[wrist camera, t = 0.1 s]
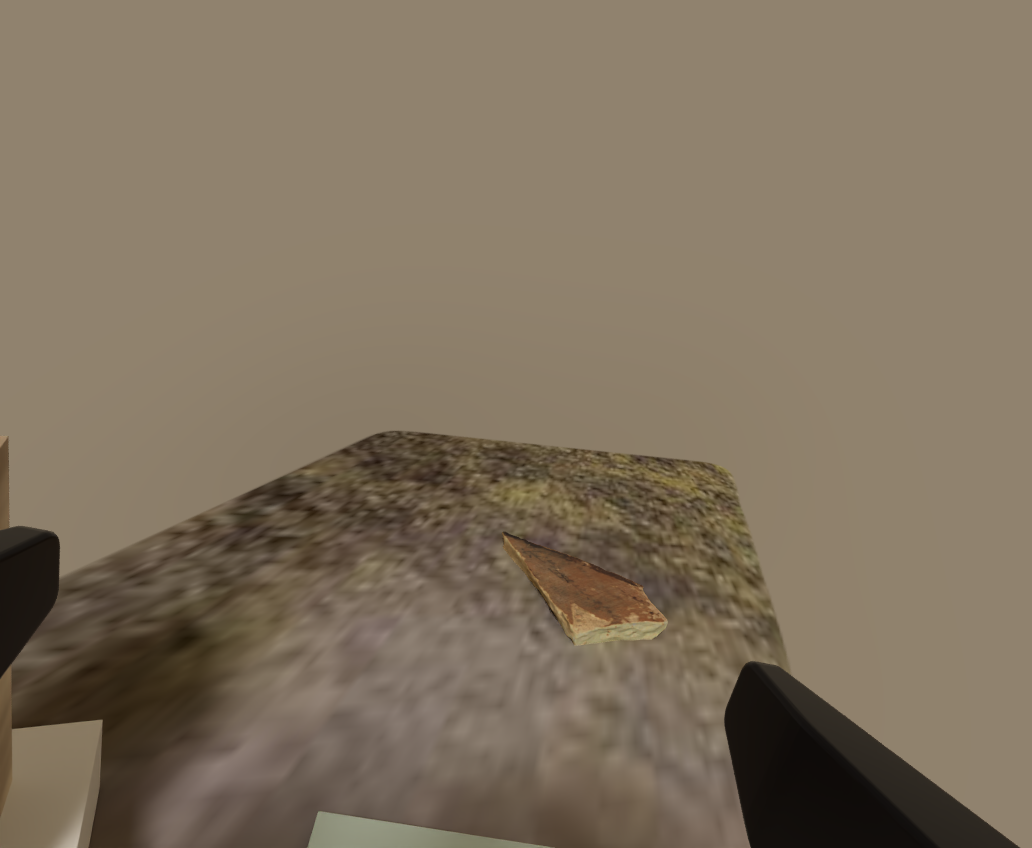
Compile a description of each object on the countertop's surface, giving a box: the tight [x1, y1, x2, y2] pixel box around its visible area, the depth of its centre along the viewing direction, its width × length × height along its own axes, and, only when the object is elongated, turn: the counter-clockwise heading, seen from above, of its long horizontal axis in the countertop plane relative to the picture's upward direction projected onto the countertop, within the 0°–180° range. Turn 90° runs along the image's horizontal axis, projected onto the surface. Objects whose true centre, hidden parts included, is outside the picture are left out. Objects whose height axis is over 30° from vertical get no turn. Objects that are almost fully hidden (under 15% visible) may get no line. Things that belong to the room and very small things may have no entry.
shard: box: [502, 532, 668, 646], centre depth 42 cm, size 11×8×2 cm
